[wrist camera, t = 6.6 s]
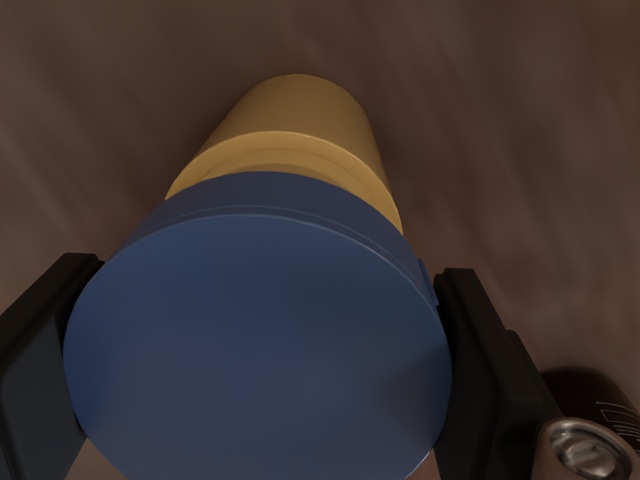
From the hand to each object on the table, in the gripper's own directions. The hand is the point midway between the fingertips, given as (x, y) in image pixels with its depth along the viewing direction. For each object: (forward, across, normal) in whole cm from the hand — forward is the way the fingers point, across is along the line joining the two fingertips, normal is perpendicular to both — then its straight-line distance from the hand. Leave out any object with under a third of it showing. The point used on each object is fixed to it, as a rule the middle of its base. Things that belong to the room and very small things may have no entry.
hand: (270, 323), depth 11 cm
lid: (-2, 0, 0) cm, 2 cm away
